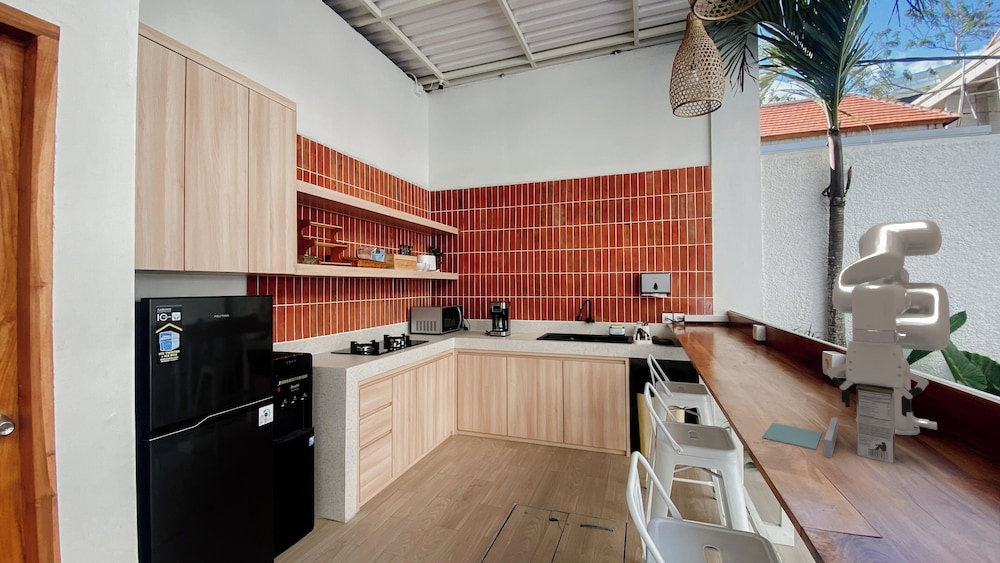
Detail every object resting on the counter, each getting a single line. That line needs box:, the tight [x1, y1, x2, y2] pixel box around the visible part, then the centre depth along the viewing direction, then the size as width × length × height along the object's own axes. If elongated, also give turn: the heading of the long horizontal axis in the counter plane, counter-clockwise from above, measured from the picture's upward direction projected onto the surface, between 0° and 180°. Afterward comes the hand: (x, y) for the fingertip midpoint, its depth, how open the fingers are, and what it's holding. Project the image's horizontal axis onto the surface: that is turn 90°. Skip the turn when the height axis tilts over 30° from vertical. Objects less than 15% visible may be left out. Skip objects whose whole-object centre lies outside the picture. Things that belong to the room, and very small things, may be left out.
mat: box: [761, 422, 823, 451], centre depth 104 cm, size 11×14×1 cm
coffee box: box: [855, 384, 896, 464], centre depth 93 cm, size 9×6×16 cm
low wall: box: [824, 417, 839, 459], centre depth 99 cm, size 1×20×4 cm, turn 136°
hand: (874, 410), depth 93 cm, fingers open, 9 cm apart
